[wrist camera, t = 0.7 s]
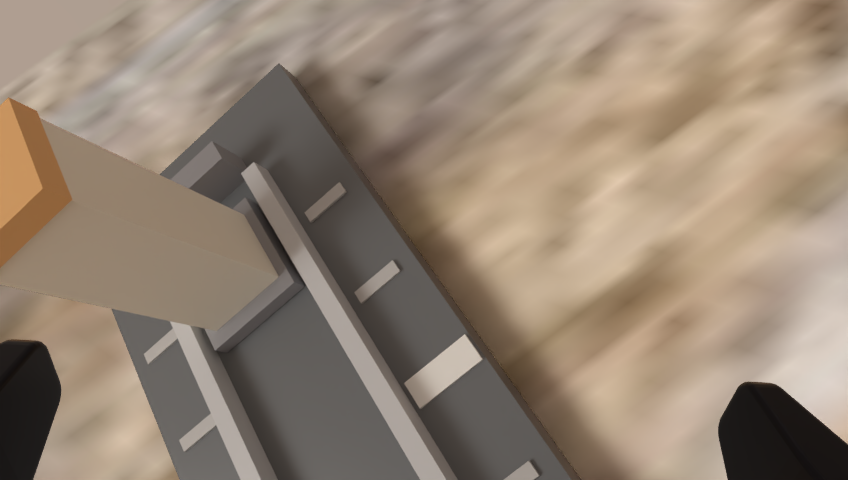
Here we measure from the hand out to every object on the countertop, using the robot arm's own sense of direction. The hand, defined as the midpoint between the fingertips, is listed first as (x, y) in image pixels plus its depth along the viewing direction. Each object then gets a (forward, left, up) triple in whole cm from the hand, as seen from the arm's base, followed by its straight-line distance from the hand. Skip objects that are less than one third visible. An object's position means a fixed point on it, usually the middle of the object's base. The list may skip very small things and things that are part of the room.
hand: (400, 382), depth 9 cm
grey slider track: (+3, +9, -13) cm, 16 cm away
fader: (+7, +11, -12) cm, 18 cm away
